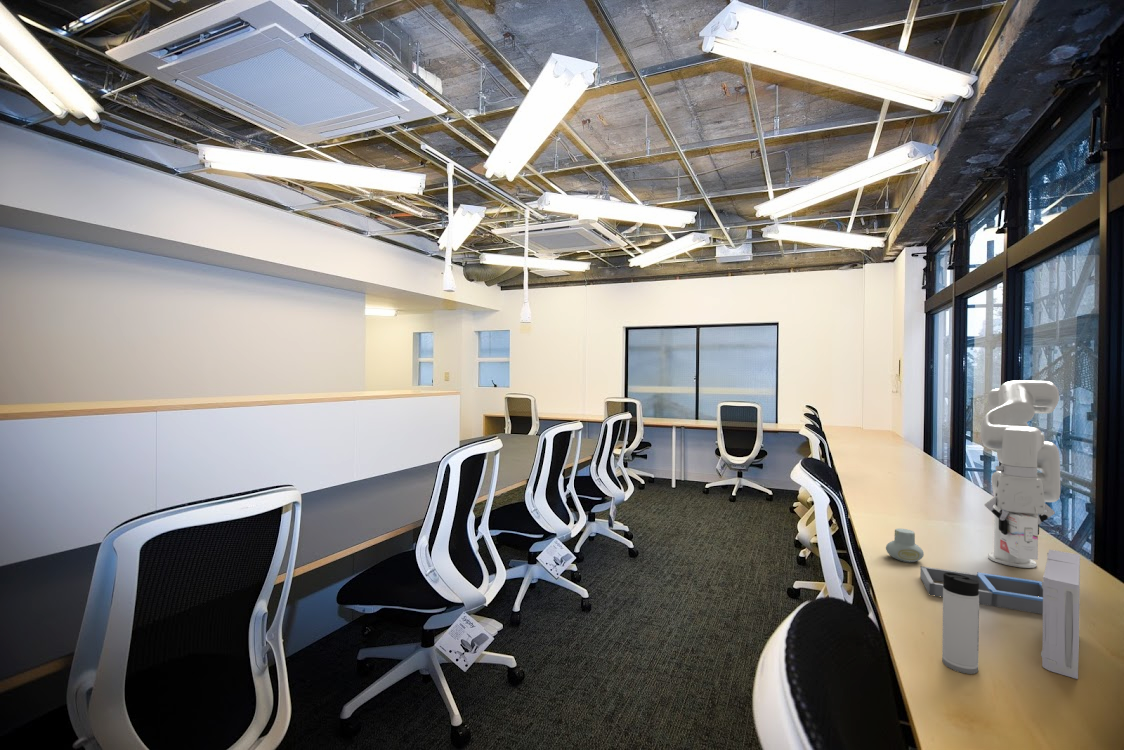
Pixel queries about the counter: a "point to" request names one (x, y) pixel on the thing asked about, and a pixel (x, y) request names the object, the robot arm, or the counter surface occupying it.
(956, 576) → the travel mug
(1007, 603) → the organiser
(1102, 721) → the counter surface
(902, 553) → the air freshener
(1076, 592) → the game console
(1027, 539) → the ink cartridge box
